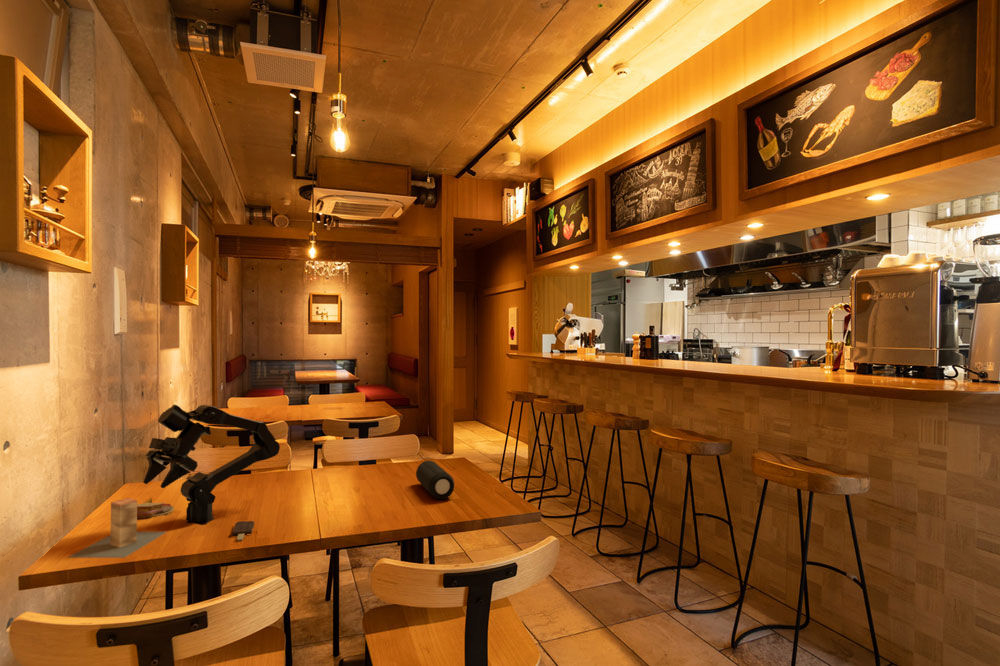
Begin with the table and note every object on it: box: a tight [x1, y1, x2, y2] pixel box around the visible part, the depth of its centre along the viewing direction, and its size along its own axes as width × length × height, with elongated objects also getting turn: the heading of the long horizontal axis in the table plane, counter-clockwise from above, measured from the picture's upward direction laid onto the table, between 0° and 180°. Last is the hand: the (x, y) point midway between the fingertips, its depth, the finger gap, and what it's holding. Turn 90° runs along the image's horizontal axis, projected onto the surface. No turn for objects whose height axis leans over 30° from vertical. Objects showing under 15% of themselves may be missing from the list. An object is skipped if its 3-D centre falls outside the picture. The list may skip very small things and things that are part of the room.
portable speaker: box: [415, 460, 455, 500], centre depth 210 cm, size 26×10×10 cm, turn 22°
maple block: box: [110, 497, 138, 548], centre depth 153 cm, size 4×4×12 cm
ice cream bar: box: [231, 520, 255, 542], centre depth 164 cm, size 5×2×15 cm
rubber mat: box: [67, 531, 167, 559], centre depth 153 cm, size 15×19×1 cm
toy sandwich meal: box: [137, 497, 175, 519], centre depth 180 cm, size 12×14×5 cm
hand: (153, 485), depth 161 cm, fingers open, 9 cm apart
